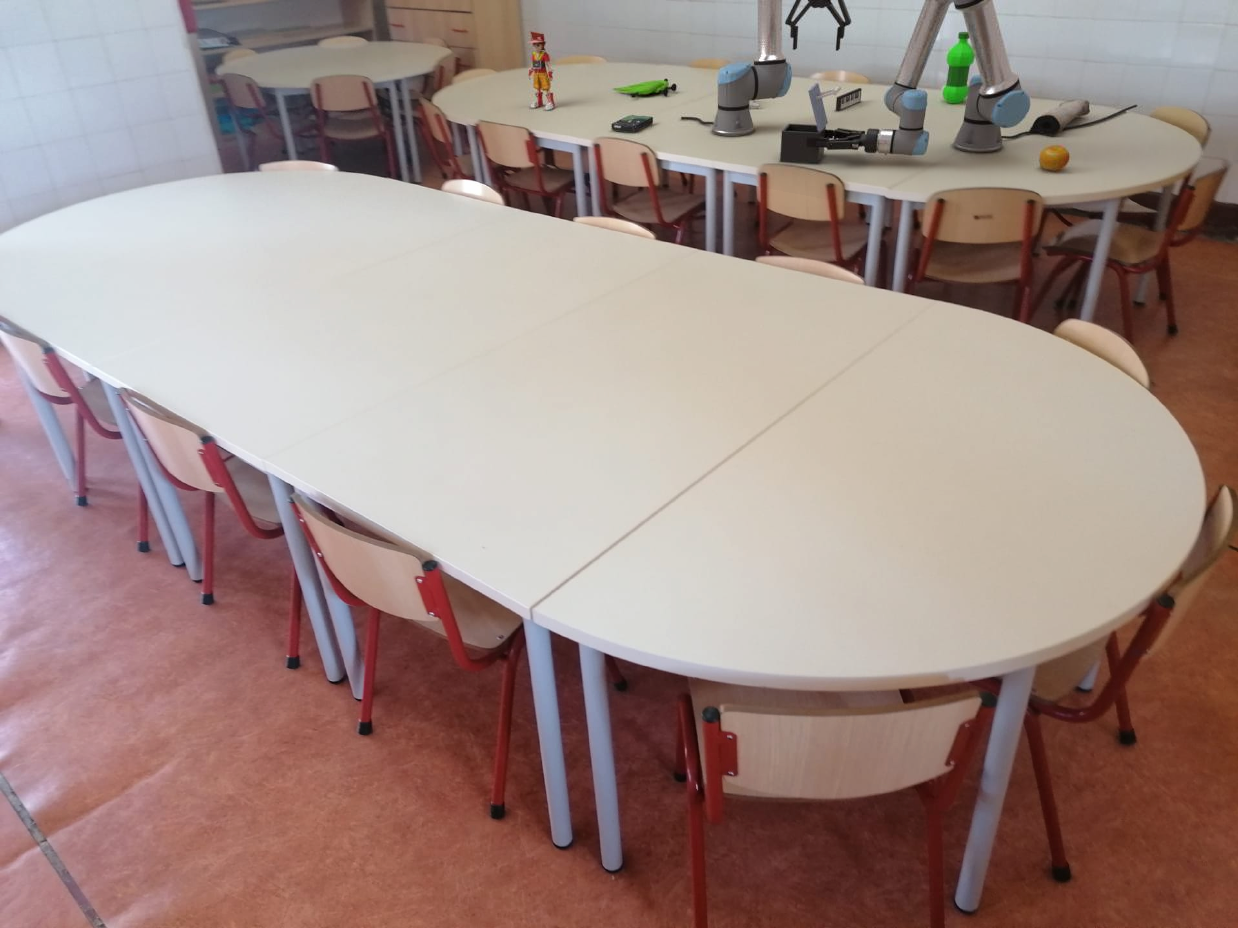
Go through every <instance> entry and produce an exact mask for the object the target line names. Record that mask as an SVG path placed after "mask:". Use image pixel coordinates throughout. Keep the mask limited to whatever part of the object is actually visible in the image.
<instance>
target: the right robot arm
mask: <svg viewBox="0 0 1238 928" xmlns="http://www.w3.org/2000/svg"><path fill="white" fill-rule="evenodd" d="M952 3H953V5H954V8H955V10H956V11H960V12H961V13H962V16H963V19H964V23H965V27H966V30H967V31H966V32H968V34H969V41H970V45H971V47H972V48H973V52H974V55H975V58H974V60H975V62H976V65H977V69H978V73H979V74H976V75H972V76H971V78H970V80H969V84H968V85H967V86H968V94H967V97H966V102H965V108H964V113H963V114H964V115H963V122H962V124H961V126H960V128H959V130H958V132H957V134H956V136H955V138H954V142H953V147H954V148H955V149H957V150H958V151H962V152H967V153H968V152H969V153H977V154H979V153H983V154H984V153H993V152H996V151H999V150H1001V149H1002V145H1003V139H1005V140H1006V139H1007V140H1010V139H1011V140H1012V139H1015V138H1018V137H1020V136H1024V135H1030V134H1039V133H1041V132H1040V131H1033V132H1032V131H1029V130H1028V131H1027V130H1026V131H1023V132H1019V133H1017V134H1014V135H1002V130H1001V128H1003V129H1009V128H1013V127H1015V126H1017V125H1018V124H1020V123H1021V122H1023V120H1025V118H1026V116H1027V115H1028V113H1029V111H1030V109H1031V98H1030V96H1029V94H1028V93H1027V92H1026V91H1024V90H1023V89H1022V85H1021V82H1020V77H1019V74H1017V73H1015V72H1012V69H1011V65H1010V62H1009V57H1008V53H1007V49H1006V46H1005V43H1004V39H1003V35H1002V30H1001V28H1000V23H999V19H998V16H997V13H996V8H995V3H994V1H993V0H924V2H923V5H922V8H921V10H920V13H919V16H918V18H917V21H916V23H915V26H914V28H913V32H912V34H911V37H910V40H909V42H908V45H907V48H906V49H905V52H904V55H903V58H902V61H901V64H900V66H899V70H898V72H897V75H896V77H895V79H894V82H893V85H892V86H891V87H889V88H888V89H887V91H886V92H885V93H884V95H883V96H884V97H883V104H884V105H885V107H886V108H887V109H888V110H889V111H890V112H891V113H894V114H895V115H897V116H898V117H899V124H898V129H894V128H893V129H892V128H881V129H879V128H871V127H870V128H868V129H866V130H857V129H849V128H842V127H837V128H836V129H826V132H825V138H807V147H824V149H826V150H827V151H838V150H839V151H841V150H842V151H843V150H844V151H845V150H846V151H847V150H852V151H857V150H859V148H860V147H862V148H863V149H864V152H865V153H866V154H876V153H878V154H884V156H888V155H902V156H910V157H911V156H924V155H926V153H927V151H928V147H929V140H930V132H929V131H927V130H926V129H925V128H924V126H925V120H926V119H925V118H926V111H927V106H928V93H927V91H925V90H924V89H919V88H918V86H919V83H920V81H921V79H922V76H923V74H924V72H925V68H926V66H927V63H928V61H929V58H930V56H931V53H932V51H933V48H934V45H935V43H936V41H937V38H938V35H939V33H940V32H941V31H940V30H941V28H942V26H943V24H944V20H945V18H946V15H947V12H948V10H949V7H950V6H951V4H952ZM1137 107H1138V104H1133V105H1130V106H1128V107H1126V108H1123V109H1121V110H1118V111H1117V112H1113V114H1110V115H1108V116H1105V117H1102V118H1099V119H1096V120H1092V121H1090V122H1086V123H1085V122H1084V123H1079V124H1075V125H1068V126H1065V127H1064V128H1063V129H1062V130H1061V131H1063V130H1069V129H1077V128H1082V127H1087V126H1091V125H1093V124H1097V123H1100V122H1104V121H1107V120H1108V119H1111V118H1113V117H1115V116H1117V115H1118V116H1119V115H1120V114H1122V113H1125V112H1126V111H1129V110H1132V109H1135V108H1137ZM924 129H925V130H924Z"/></svg>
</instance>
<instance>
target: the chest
mask: <svg viewBox="0 0 1238 928" xmlns="http://www.w3.org/2000/svg"><path fill="white" fill-rule="evenodd" d="M826 130H827V125H826V126H825V127H824V129H823V130H822V131H819V132H818V129H817V125H816V124H806V123H805V124H802V123H788V124H787V125H786V126H785V127H783V129H782V130H781V137H780V139H781V140H780V153H779V154H780V158H779V162H781V163H793V164H795V163H796V164H809V165H811V164H812V165H818V164H819V163H820V162H821V160H822V158H823V157H824V155H825V147H807V138H825V132H826Z"/></svg>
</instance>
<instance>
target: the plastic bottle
mask: <svg viewBox="0 0 1238 928" xmlns="http://www.w3.org/2000/svg"><path fill="white" fill-rule="evenodd" d="M957 39H958V42H957V43H956V44H954V45H953V46H952V47H951V48H950V49H949V50H948V52H947V54H946V63H947V64H948V69H947V70H948V71H947V76H946V77H947V78H946V84H945V85H944V87H943V90H942V97H943V99H944V100H945V101H946V102H947V103H948V104H960V103H961V102H963V101H964V100H966V99H967V94H968V86H969V85H968V79H969V73H970V67H971V65H972V64H973V63H974V61H975V55H974V52H973V48H972V45H971V43H969V42H968V41H969V40H970V38H969V34H968V31H959V32H958V36H957Z"/></svg>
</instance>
